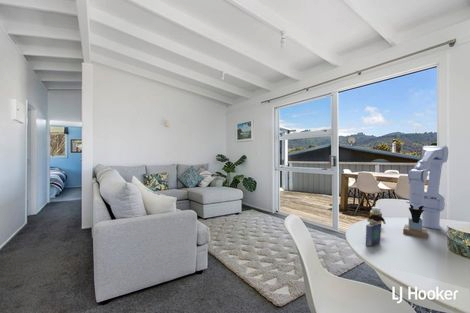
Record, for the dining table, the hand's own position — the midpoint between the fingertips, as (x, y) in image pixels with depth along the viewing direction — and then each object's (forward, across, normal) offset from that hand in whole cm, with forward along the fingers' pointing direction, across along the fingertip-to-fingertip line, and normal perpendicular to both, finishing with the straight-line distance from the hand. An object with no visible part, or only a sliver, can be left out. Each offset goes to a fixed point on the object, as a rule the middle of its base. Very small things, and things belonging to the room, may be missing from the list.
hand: (415, 220), depth 114 cm
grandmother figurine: (+6, +13, -15) cm, 21 cm away
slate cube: (+4, 0, 0) cm, 4 cm away
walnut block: (+7, 0, 0) cm, 7 cm away
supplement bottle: (+6, +1, -17) cm, 18 cm away
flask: (+6, +29, -14) cm, 33 cm away
